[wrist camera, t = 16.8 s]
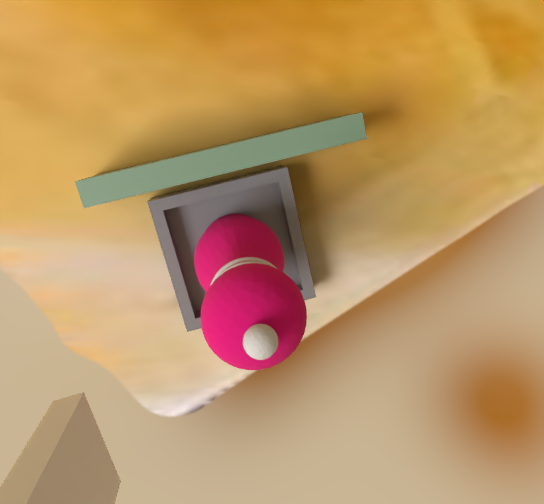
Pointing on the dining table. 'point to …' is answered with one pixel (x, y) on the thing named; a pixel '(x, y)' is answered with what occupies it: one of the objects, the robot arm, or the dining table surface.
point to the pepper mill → (247, 294)
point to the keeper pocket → (214, 204)
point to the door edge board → (220, 159)
